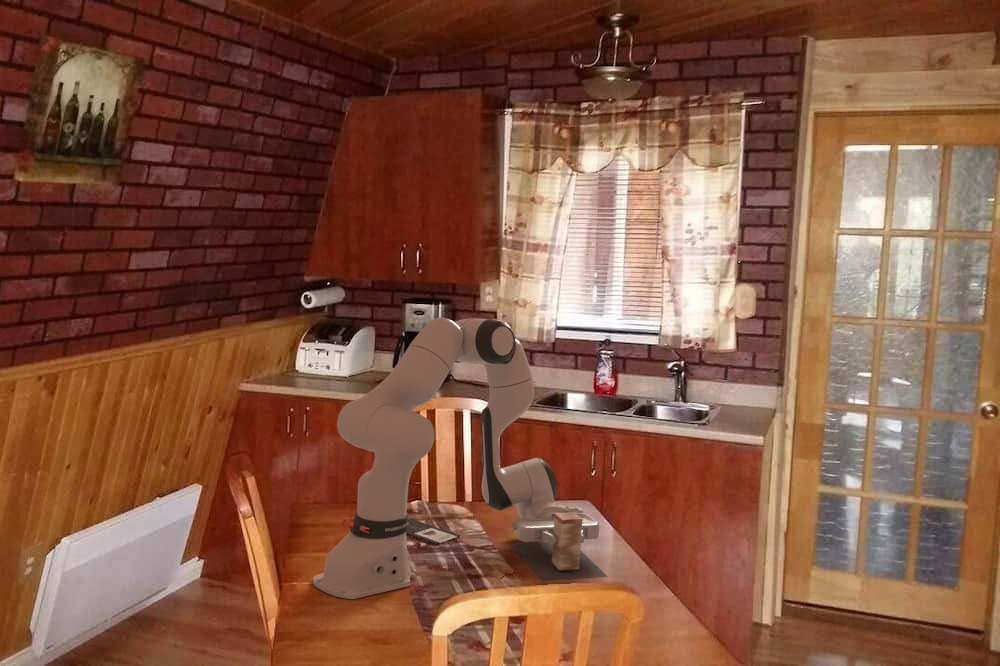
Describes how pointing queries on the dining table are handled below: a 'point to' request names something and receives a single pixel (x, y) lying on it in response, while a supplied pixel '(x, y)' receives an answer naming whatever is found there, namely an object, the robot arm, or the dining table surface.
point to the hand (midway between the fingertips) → (568, 540)
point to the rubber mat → (542, 564)
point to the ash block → (567, 541)
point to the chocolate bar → (429, 532)
